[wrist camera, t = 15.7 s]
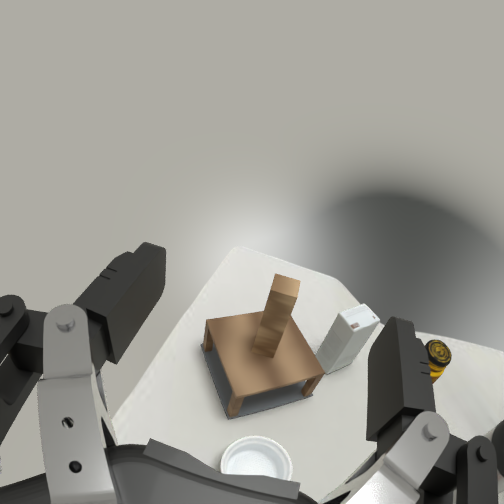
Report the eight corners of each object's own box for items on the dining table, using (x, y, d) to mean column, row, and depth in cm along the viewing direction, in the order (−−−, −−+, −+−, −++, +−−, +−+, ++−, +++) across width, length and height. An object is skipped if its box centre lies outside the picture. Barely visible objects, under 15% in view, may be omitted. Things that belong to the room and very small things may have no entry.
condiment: (408, 413, 46) (448, 374, 39) (374, 384, 51) (408, 342, 44) (424, 390, 50) (461, 350, 43) (393, 364, 55) (425, 321, 48)
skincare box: (338, 347, 57) (364, 300, 50) (352, 365, 54) (382, 319, 47) (312, 357, 54) (337, 310, 47) (326, 377, 51) (355, 331, 44)
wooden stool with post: (276, 332, 57) (306, 247, 46) (310, 394, 47) (359, 315, 36) (202, 346, 51) (215, 255, 41) (229, 417, 42) (254, 338, 31)
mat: (276, 331, 57) (277, 330, 57) (312, 395, 47) (312, 394, 47) (200, 345, 52) (201, 344, 52) (228, 419, 42) (228, 418, 41)
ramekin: (290, 496, 33) (301, 490, 31) (224, 508, 31) (228, 503, 28) (274, 441, 40) (282, 430, 38) (211, 449, 37) (214, 439, 35)
